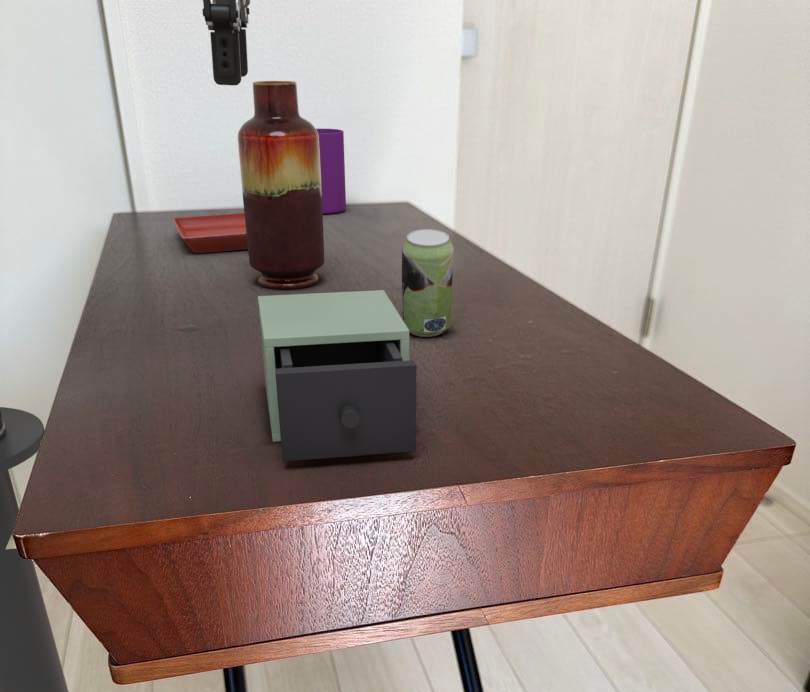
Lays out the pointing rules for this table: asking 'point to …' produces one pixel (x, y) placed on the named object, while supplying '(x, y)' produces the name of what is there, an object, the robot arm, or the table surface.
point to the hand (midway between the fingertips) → (232, 80)
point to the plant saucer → (213, 232)
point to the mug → (332, 170)
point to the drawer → (345, 400)
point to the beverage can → (427, 282)
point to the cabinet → (324, 328)
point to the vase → (281, 189)
